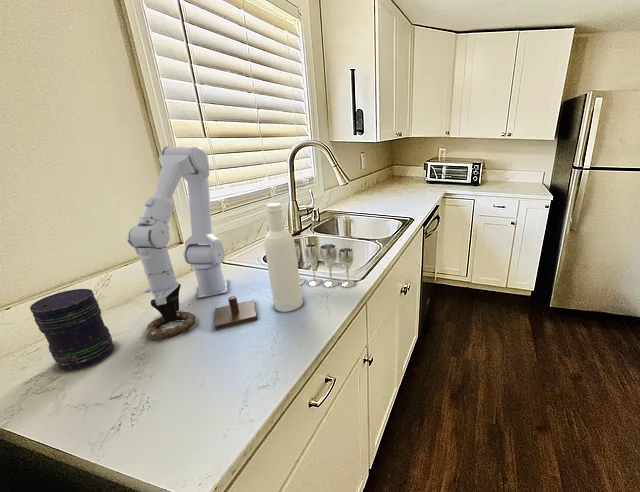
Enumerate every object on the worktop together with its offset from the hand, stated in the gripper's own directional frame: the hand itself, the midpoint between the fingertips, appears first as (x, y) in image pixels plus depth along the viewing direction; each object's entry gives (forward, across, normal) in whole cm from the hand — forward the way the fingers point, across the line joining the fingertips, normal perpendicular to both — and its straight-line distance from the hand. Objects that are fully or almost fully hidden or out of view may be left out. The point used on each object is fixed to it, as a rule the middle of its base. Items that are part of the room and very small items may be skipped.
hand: (173, 316), depth 88 cm
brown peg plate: (+1, +5, +15) cm, 16 cm away
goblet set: (+2, -5, +39) cm, 39 cm away
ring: (0, +4, 0) cm, 4 cm away
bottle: (+2, +6, +29) cm, 30 cm away
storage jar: (+2, +8, -16) cm, 18 cm away
